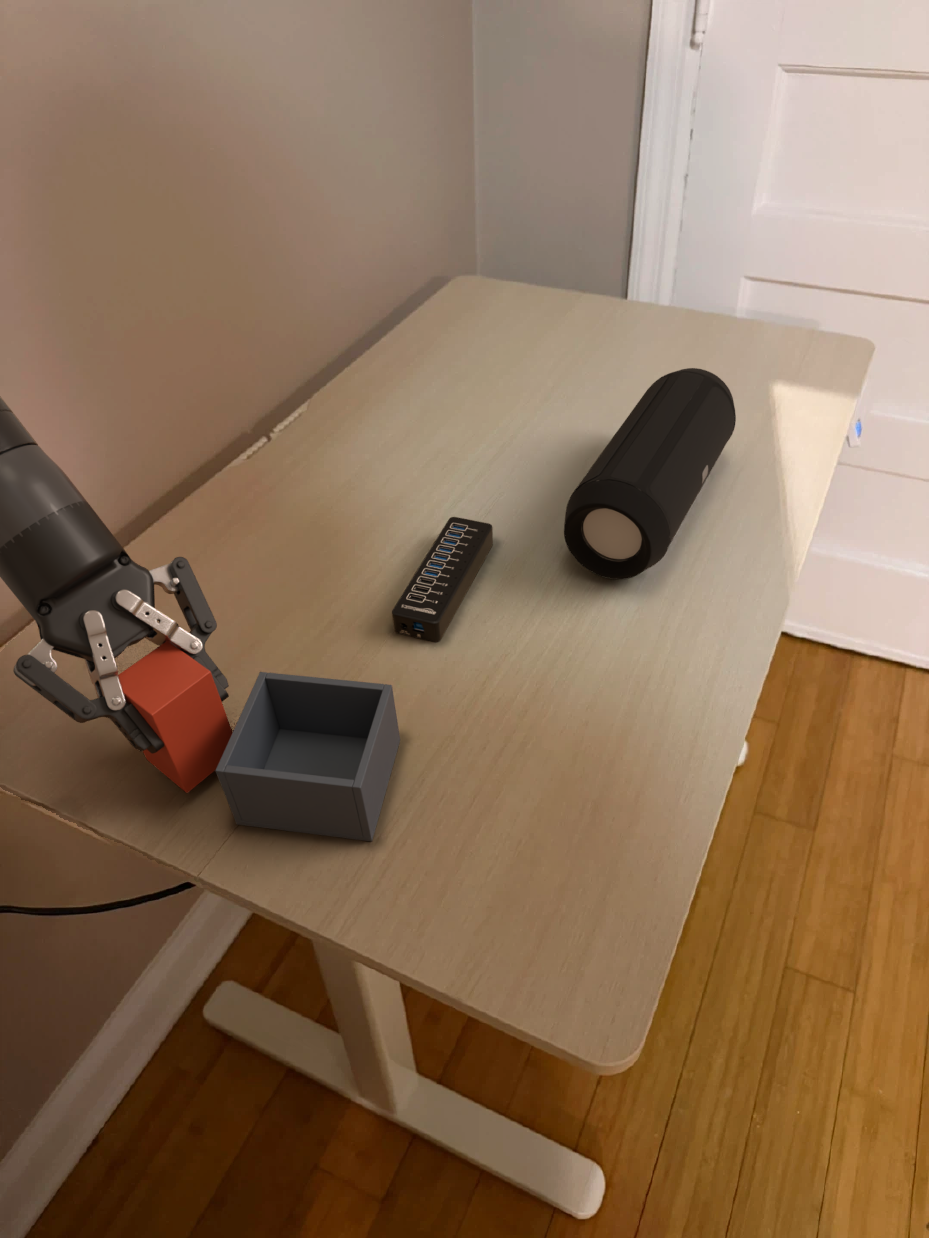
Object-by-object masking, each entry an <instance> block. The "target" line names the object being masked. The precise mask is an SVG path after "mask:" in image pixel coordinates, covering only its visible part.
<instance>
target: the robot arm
mask: <svg viewBox="0 0 929 1238" xmlns="http://www.w3.org/2000/svg"><path fill="white" fill-rule="evenodd" d="M0 579H1V580H2V581H3V583H4V584H5V585H6V587H8V589H9V590H10V591H11V592H12V594H13V595H14V596H15V597H16V599H17V601H19V602H20V604H21V605H22V606H23V607H24V608H25V610H26V611H27V613H28V614H29V615H30V616H31V617H32V618H33V620H34V621H35V623H36V625H37V628H38V632H39V638H40V641H39V642H37V643H36V644H35V646H33V648H31V650H30V651H28V652H27V654H24V655H21V656H20V657H19V658H17V660H16V662H15V664H14V667H13V674H14V675H15V676H16V677H17V678H18V679H19V680H21V682H24V683H25V684H26V685H27V686H29V687H30V688H31V689H32V690H34V691H35V692H36V693H38V694H39V695H40V696H41V697H43V698H44V699H46V700H47V701H48V702H50V703H51V704H52V705H54V706H55V707H56V708H58V709H59V710H60V711H61V712H63V714H65V715H67V716H68V717H69V718H70V719H72V720H73V721H74V722H76V723H78V724H84V723H87V722H90V721H92V720H96V719H100V718H107V719H108V720H110V721H111V722H112V723H113V724H114V726H116V728H117V729H118V730H119V731H120V733H121V734H122V735H123V736H124V737H125V739H126V741H128V743H129V744H130V745H131V746H132V748H134V749H135V750H137V751H139V752H143V751H144V750H146V749H147V750H148V751H149V752H150V753H152V754H153V753H156V752H157V751H159V750H160V749H161V748H163V747H164V746H165V745H164V743H163V741H162V740H161V739H160V738H159V736H158V735H157V734H156V733H155V731H154V730H153V729H152V728H151V726H150V725H149V724H148V723H147V721H146V720H145V719H144V718H143V716H142V715H141V714H140V713H139V711H138V710H137V709H136V708H135V706H134V705H133V704H132V703H131V704H130V705H128V703H127V702H126V700H125V696H124V693H123V690H122V687H121V684H120V680H119V677H118V675H119V669H118V665H117V662H116V658H118V657H119V656H120V655H121V654H123V652H124V651H125V650H126V649H127V648H128V647H131V646H134V645H136V644H138V643H139V642H141V641H143V640H144V639H146V640H148V641H149V642H150V643H153V644H154V645H156V646H158V647H159V646H160V645H162V644H163V643H165V642H166V641H169V642H170V643H171V644H173V645H174V646H176V647H177V648H178V649H180V650H181V651H183V652H184V653H185V654H187V655H188V656H190V657H191V658H192V659H194V660H195V661H197V662H198V663H199V664H201V665H202V666H204V667H205V668H206V669H208V670H209V671H211V674H212V677H213V680H214V682H215V685H216V688H217V691H218V693H219V696H220V699H221V702H222V703H223V702H225V700H226V699H228V698H229V696H230V695H229V692H228V691H227V690H226V689H227V688H229V687H230V684H229V682H228V678H226V676H225V675H224V673H222V671H221V670H220V668H219V667H218V666H217V664H216V663H215V662H214V660H213V659H212V658H211V657H210V656H209V654H208V653H207V651H206V643H207V641H208V639H209V638H210V637H211V635H212V633H214V632H215V630H216V629H217V627H218V623H217V621H216V618H215V616H214V614H213V611H212V609H211V607H210V606H209V603H208V600H207V599H206V597H205V594H204V593H203V590H202V587H201V585H200V584H199V582H198V580H197V577H196V575H195V573H194V571H193V569H192V567H191V564H190V562H189V560H188V559H187V558H186V557H184V556H176V557H175V558H174V559H172V560H171V562H169V563H167V564H163V565H161V566H158V567H155V568H152V569H150V570H149V569H148V568H146V567H144V566H143V565H141V564H138V563H137V562H135V561H134V560H133V559H132V558H131V557H130V555H129V554H128V553H127V551H126V550H125V548H124V547H123V546H122V545H121V543H120V542H119V540H117V538H116V537H115V535H114V534H113V533H112V531H111V530H110V529H109V527H108V526H107V525H106V524H105V522H103V520H102V519H101V518H100V516H99V515H98V514H97V512H96V511H95V510H94V508H93V507H92V506H91V504H90V503H89V502H88V501H87V499H86V498H85V497H84V495H83V494H82V493H81V491H80V490H79V489H78V488H77V486H76V485H75V484H74V482H73V481H72V480H71V479H70V478H69V476H68V475H67V474H66V473H65V472H64V470H63V469H62V468H61V467H60V466H59V465H58V464H57V463H56V462H55V461H54V460H53V459H52V458H51V457H50V456H49V455H48V454H47V453H46V452H45V450H43V448H42V447H41V446H40V445H39V444H38V442H37V441H36V440H35V438H34V437H33V436H32V435H31V433H30V432H29V431H28V429H27V428H26V427H25V426H24V425H23V423H22V422H21V421H20V419H19V418H18V417H17V416H16V414H15V413H14V411H13V410H12V409H11V407H10V406H9V405H8V404H7V402H6V401H5V400H4V399H3V398H2V397H1V396H0ZM155 586H159V587H160V588H161V589H162V591H164V593H166V594H168V595H174V598H175V599H176V602H177V604H178V607H179V608H180V610H181V613H182V614H183V615H182V616H183V617H184V620H185V621H186V624H187V625H188V627H189V628H188V629H189V630H190V631H187V630H186V629H184V628H183V627H181V626H179V624H178V623H177V621H176V620H174V619H172V618H171V617H169V616H168V615H166V614H164V613H163V612H162V611H160V610H159V609H157V608H156V601H155V599H156V598H155ZM52 651H55V652H59V653H61V654H62V653H63V654H66V655H69V656H72V657H76V658H78V659H83V661H84V663H85V666H86V669H87V672H88V676H89V679H90V682H91V684H92V685H93V687H94V691H95V694H96V697H97V698H94V699H89V698H87V696H85V695H84V694H82V693H81V692H80V691H79V690H77V689H76V688H75V687H74V686H72V685H71V684H70V683H68V682H67V681H66V680H65V679H63V678H62V677H60V676H59V675H58V674H56V671H57V670H58V663H57V661H56V660H55V659H54V658H53V656H52Z"/></svg>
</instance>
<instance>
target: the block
mask: <svg viewBox="0 0 929 1238" xmlns="http://www.w3.org/2000/svg"><path fill="white" fill-rule="evenodd" d="M118 677H119V680H120V684H121V687H122V690H123V693H124V696H125V700H126V702H127V703H128V705H130V704H131V703H132V704H133V705H134V706H135V708H136V709H137V710H138V711H139V713H140V714H141V715H142V716H143V718H144V719H145V720H146V721H147V723H148V724H149V725H150V726H151V728H152V729H153V730H154V731H155V733H156V734H157V735H158V736H159V738H160V739H161V740H162V741H163V743H164V745H165V746H164V747H163V748H161V749H160V750H159V751H157V752H156V753H153V754H152V753H150V752H149V751H148V750H147V749H146V750H144V751H142V752H143V755H144V756H145V758H146V761H148V763H151V765H153V766H154V767H155V768H156V769H157V770H159V772H161V773H162V774H163V775H164V776H166V777H167V778H168V779H169V780H170V781H171V782H173V783H174V784H175V785H176V786H178V787H179V788H180V789H181V790H182V791H184V792H185V793H186V794H188V793H190V791H192V790H193V789H194V788H196V787H197V786H198V785H199V784H201V783H202V782H203V781H204V780H205V779H206V778H207V777H209V776H210V775H211V774H213V773H214V772H216V768H217V766H218V764H219V762H220V759H221V757H222V755H223V753H224V750H225V748H226V746H227V744H228V742H229V739H230V737H231V735H232V733H233V730H232V726H231V724H230V721H229V718H228V716H227V713H226V711H225V707H224V704H223V701H222V702H221V699H220V696H219V693H218V691H217V688H216V685H215V682H214V680H213V677H212V674H211V671H209V670H208V669H206V668H205V667H204V666H202V665H201V664H199V663H198V662H197V661H195V660H194V659H192V658H191V657H190V656H188V655H187V654H185V653H184V652H183V651H181V650H180V649H178V648H177V647H176V646H174V645H173V644H171V643H170V642H169V641H166V642H165V643H163V644H162V645H160V646H159V645H158V646H157V647H155V648H154V649H153V650H152V651H150V652H148V654H145V655H144V656H143V657H142V658H140V659H138V660H137V661H136V662H135V663H133V664H131V665H130V666H128V667H127V668H126V669H124V670H123V671H122V672H120V673H118Z"/></svg>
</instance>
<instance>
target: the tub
mask: <svg viewBox="0 0 929 1238" xmlns="http://www.w3.org/2000/svg"><path fill="white" fill-rule="evenodd" d="M393 689H394V688H393V685H392V684H387V683H385V684H384V683H377V682H369V681H368V682H367V681H357V680H347V679H337V678H328V677H327V678H326V677H317V676H305V675H297V674H287V673H278V672H268V671H267V672H266V671H260V672H259V673H258V675H257V678H256V680H255V681H254V684H253V687H252V688H251V691H250V693H249V695H248V697H247V699H246V702H245V704H244V706H243V708H242V711H241V713H240V715H239V717H238V720H237V722H236V723H235V726H234V729H233V730H232V732H233V733H232V735H231V737H230V739H229V742H228V744H227V746H226V748H225V750H224V753H223V755H222V757H221V759H220V762H219V764H218V766H217V768H216V770H215V774H216V775H217V779H218V782H219V784H220V786H221V788H222V791H223V794H224V796H225V799H226V801H227V804H228V806H229V809H230V811H231V814H232V816H233V819H234V822H235V824H236V825H238V826H239V825H240V826H246V827H247V826H248V827H253V828H254V827H255V828H264V829H272V830H277V831H286V832H294V833H300V834H301V833H302V834H308V835H309V834H310V835H318V836H326V837H333V838H341V839H350V840H356V841H365V842H373V839H374V837H375V833H376V830H377V825H378V822H379V818H380V815H381V811H382V807H383V804H384V801H385V797H386V793H387V789H388V786H389V782H390V780H391V779H390V778H391V776H392V772H393V769H394V765H395V761H396V757H397V754H398V751H399V747H400V744H401V743H400V742H401V736H400V730H399V722H398V715H397V709H396V702H395V696H394V690H393Z"/></svg>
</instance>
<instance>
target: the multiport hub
mask: <svg viewBox="0 0 929 1238" xmlns="http://www.w3.org/2000/svg"><path fill="white" fill-rule="evenodd" d="M493 535H494V534H493V525H492V524H491V523H489V522H483V521H479V520H473V519H470V518H469V519H468V518H463V517H458V516H451V517H449V518H448V520H447V521H446V523H445V525H444V526H443V528H442V530H441V531H440V532H439V534H438V535H437V537H436V539H435V541H434V542H433V544H432V545H431V547H430V549H429V550H428V552H427V554H426V555H425V556H424V559H423V560H422V562H421V563H420V564H419V566H418V568H417V569H416V571H415V573H414V574H413V576H412V578H411V579H410V581H409V583H408V584H407V586H406V587H405V589H404V591H403V592H402V594H401V595H400V597H399V599H398V600H397V601H396V604H395V605H394V607H393V608H392V609H391V617H392V624H393V630H394V632H395V633H396V634H399V635H404V636H408V637H412V638H417V639H419V640H424V641H428V642H433V643H438V642H441V640H442V639H443V637H444V636H445V635H444V634H446V630H447V629H448V628H449V626H450V624H451V622H452V621H453V618H454V617H455V614H456V613H457V611H458V609H459V607H460V605H461V604H462V602H463V600H464V598H465V596H466V595H467V593H468V591H469V589H470V587H471V585H472V584H473V583H474V581H475V578H476V577H477V574H478V573H479V571H480V569H481V567H482V565H483V564H484V562H485V560H486V558H487V556H488V554H489V553H490V551H491V549H492V547H493V546H494V540H493V539H494V537H493Z"/></svg>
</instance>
